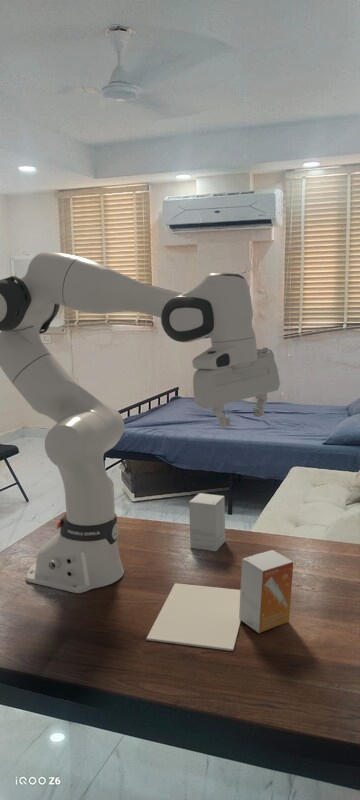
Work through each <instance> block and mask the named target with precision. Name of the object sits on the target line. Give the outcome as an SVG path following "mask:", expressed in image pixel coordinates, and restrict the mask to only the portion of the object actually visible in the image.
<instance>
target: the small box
mask: <svg viewBox="0 0 360 800" xmlns="http://www.w3.org/2000/svg"><path fill="white" fill-rule="evenodd" d="M293 571H294V561H293V560H291V559H290V558H288V557H286V556H284V555H282V554H280V553H279V552H277V551H276V550H273V549H271V550H267V551H264V552H260V553H255V554H253V555H250V556H247V557H244V558H242V559H241V571H240V572H241V573H240V574H241V576H240V589H239V590H240V608H239V619H240V620H241V622H243V623H244V624H246V625H247V626H248V627H250V628H251V629H252V630H254V631H255V632H257V633H258V634H261V633H263V632H265V631H268V630H271V629H273V628H276V627H278V626H281V625H284V624H287V623H289V621H290V615H291V614H290V611H291V610H290V609H291V599H292V598H291V596H292V587H293V586H292V585H293V584H292V583H293Z"/></svg>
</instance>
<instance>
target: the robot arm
mask: <svg viewBox="0 0 360 800" xmlns="http://www.w3.org/2000/svg"><path fill="white" fill-rule="evenodd" d="M60 306H63V307H65V308H68V309H71V310H74V311H78V312H83V313H90V314H109V313H121V312H122V313H124V312H134V313H135V312H136V313H142V314H146V315H148V316H149V315H150V316H152V317H157V318H160V322H161V327H162V329H163V331H164V333H165V334H166V335H167V336H168V337H169V338H170V339H172V340H174V341H175V342H179V343H192V342H195V341H199V340H201V339H210V343H211V346H210V347H209V348H208V349H206V350H205V351H203V352H202V353H200V354H198V355H197V356H195V357H193V359H192V363H191V364H192V367H193V369H195V372H194V373H193V379H192V387H193V397H194V402H195V404H196V405H197V407H198V408H201V409H211V410H212V413H213V414H214V415H215V417H216V418H217V419H218V426H219V427H220V428H226V427H229V426H230V425H231V422H230V421H231V420H230V417H229V416H226V415H225V413H224V410H225V405H226V404H231V403H234V402H239V401H242V400H247V399H251V398H254V397H255V399H256V400H257V401H256V403H255V404H256V405H255V407H253V408H252V410H253V416H254V417H257V418H260V417H265V406H266V403H267V400H268V394H269V393H272V392H273V393H274V392H277V391H279V388H280V385H281V382H280V375H279V370H278V367H277V363H276V360H275V354H274V352H273V351H272V350H271V349H270V348H268V347H262V348H258V347H257V340H256V332H255V330H254V327H253V318H254V317H253V316H254V311H253V310H254V309H253V303H252V297H251V291H250V287H249V283H248V281H247V279H246V277H244V276H243V275H242V274H240V273H234V272H217V271H214V272H211V273H208V274H207V275H206V276H205V277H204V279H203V280H201V281H200V282H199V283H198V284H196V285H195V286H194V287H191V288H190V289H189V290H187V291H185V292H178V291H177V292H176V291H173V290H169V289H165V288H161V287H158V286H156V285H155V286H154V285H151V284H148V283H144V282H142V281H138V280H136V279H134V278H132V277H129V276H127V275H125V274H122V273H120V272H119V271H116V270H114V269H112V268H110V267H108V266H107V265H104V264H101V263H99V262H96V261H94V260H91V259H89V258H84V257H81V256H77V255H74V254H73V255H72V254H69V253H62V252H55V251H54V252H53V251H42V252H40V253H38V254H36V255H35V256H34V257H33V258H32V259H31V261H30V262H29V264H28V267H27V270H26V274H25V275H23V276H22V277H20V278H19V277H18V276H15V275H11V276H9V277H5V278H2V279H0V369H1V370H2V371H3V373H4V374H5V376H6V377H7V378H8V380H9V381H10V382H11V384H12V385H13V386H14V387H15V389H16V390H17V391H18V392H19V394H20V395H21V396H22V397H23V398H24V399H25V401H26V403H28V404H29V406H30V407H31V408H32V409H33V410H34V411H35V412H37V413H39V414H41V415H44V416H45V417H48V418H50V419H51V420H53V421H54V422H55V423H56V424H54V426H53V427H52V428H51V429H49V431H48V432H47V433H46V436H45V439H44V449H45V454H46V456H47V458H48V459H49V460H50V461H51V463H53V464H54V465H55V466H56V467H57V469H58V471H59V473H60V476H61V479H62V482H63V487H64V498H65V510H66V512H65V513H64V516H63V517H61V518H60V519H59V521H58V522H57V523H56V529H57V530H58V529H59V528H60V531H59V532H57V533H56V534H55V535H54V536H52V537H51V538H50V539H48V541H46V542H45V543H44V544H43V545H42V546H41V547H40V549H39V550H38V551H37V552H38V553H37V556H36V561H35V562H34V563H33V564H32V565H31V566H30V567H29V569H28V571H27V572H26V581H27V582H28V583H32V584H37V585H40V586H45V587H48V588H53V589H57V590H60V591H61V590H62V591H65V592H70V593H73V594H83V593H85V592H88V591H90V590H93V589H98V588H102V587H106V586H110V585H112V584H114V583H116V582H117V581H119V580H120V579H121V578H122V577H123V575H124V573H125V568H124V567H123V564H122V560H121V557H120V551H119V545H118V536H119V526H118V525H119V524H118V517H117V514H116V509H115V485H114V482H113V479H111V478H110V477H109V475H108V473H107V469H106V466H105V462H104V455H105V453H106V452H108V451H110V450H112V449H114V447H115V446H116V445H117V444H118V442H119V441H120V440H121V438H122V436H123V435H124V432H125V421H124V417H123V416H122V414H121V413H120V412H119V410H117V409H116V408H115V407H112V406H109V405H107V404H106V403H103V402H102V401H100V400H99V399H98V398H97V397H95V396H94V395H93V394H91V393H90V392H89V391H88V390H86V389H85V388H84V387H83V386H81V385H80V384H79V383H78V382H77V381H76V380H75V379H74V378H73V377H72V376H71V375H70V374H69V372H68V371H67V370H66V369H65V368H64V367H63V365H62V364H61V363H60V362H59V361H58V359H56V357H55V356H54V354H52V352H51V351H50V350H49V349H48V348H47V346H46V345H45V344H44V343H43V342H42V339H41V334H45V333H46V332H47V331H48V330H49V328H50V325H51V323H52V322H53V321H54V320H55V318H56V316H57V315H58V312H59V311H60Z"/></svg>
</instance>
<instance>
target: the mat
mask: <svg viewBox="0 0 360 800" xmlns="http://www.w3.org/2000/svg"><path fill="white" fill-rule="evenodd" d="M240 590H241V589H235V588H225V587H217V586H216V587H215V586H205V585H204V586H203V585H194V584H186V583H176V582H175V583H174V585H173V586H172V588H171V590H170V592H169V594H168V596H167V598H166V600H165V601H164V604H163V605H162V608H161V610H160V611H159V613H158V615H157V617H156V619H155V620H154V623H153V625H152V627H151V629H150V630H149V633H148V635H147V637H146V641H151V642H160V643H166V644H168V643H169V644H173V645H174V644H175V645H181V646H182V645H184V646H190V647H191V646H192V647H199V648H207V649H214V650H221V651H228V652H231V651H232V652H234V650H235V646H236V641H237V637H238V634H239V630H240V626H241V623H242V621H241V620H240V619H239V608H240Z"/></svg>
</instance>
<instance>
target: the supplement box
mask: <svg viewBox="0 0 360 800" xmlns="http://www.w3.org/2000/svg"><path fill="white" fill-rule="evenodd" d="M225 500H226V499H225V495H219V494H209V493H202V492H200V493H198V494H197V495H195V496H194V497H193V498H192V499H190V500H189V502H188V505H189V506H188V508H189V542H190V544H189V545H190V548H193V549H197V550H198V549H199V550H206V551H209V552H218V550H219V549H220V548H221V546H222V545H223V544H224V543H225V542H226V517H225V516H226V515H225V513H226V508H225V506H226V505H225V504H226V503H225V502H226V501H225Z"/></svg>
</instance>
